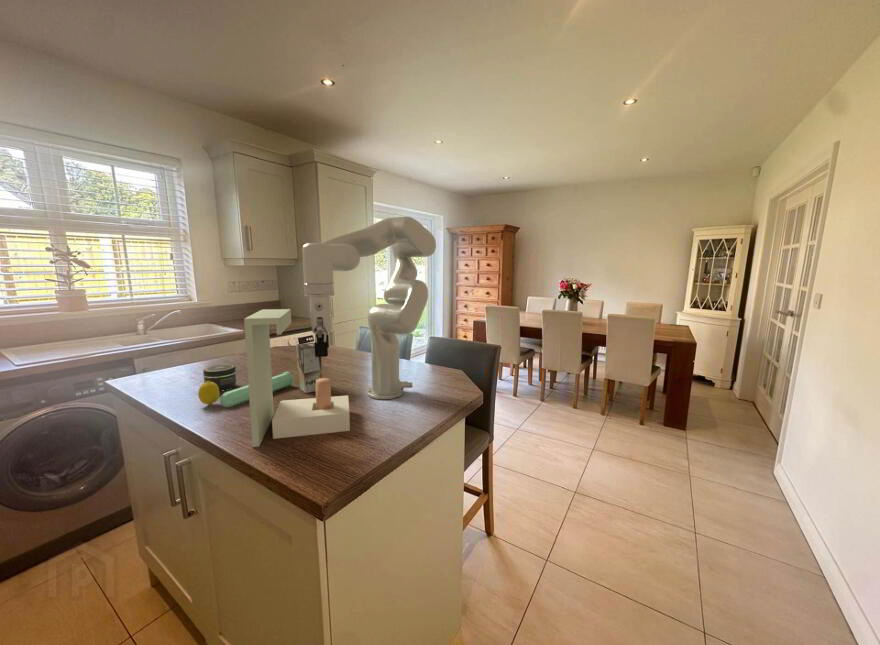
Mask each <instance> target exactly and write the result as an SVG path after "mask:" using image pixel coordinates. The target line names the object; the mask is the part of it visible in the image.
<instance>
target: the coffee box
mask: <svg viewBox="0 0 880 645" xmlns="http://www.w3.org/2000/svg"><path fill="white" fill-rule="evenodd" d="M296 360H297V361H296V365H297V381H298V382H297V384H298V388H299V389H300V390H301V391H303V393H305V394H308V393H312V392H313V393H315V392H316V380H317V379H320V378H323V375H322V374H323V373H322V357H315V346H314V342H306V343H299V344H296Z"/></svg>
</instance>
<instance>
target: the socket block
mask: <svg viewBox="0 0 880 645" xmlns="http://www.w3.org/2000/svg"><path fill="white" fill-rule="evenodd" d="M349 402H350V401H349V395H348V394H347V395H339V396H338V395H337V396H336V395H335V396H331V409H324V410H316V397H313V398H301V399H300V398H299V399H287V400H280V402H279V404H278V406H277V407H276V411H275V413H274V415H273V418H272V420H271V425H272V426H271V427H272V440H273V439H274V440H275V439H283V438H293V437H294V438H295V437H304V436H312V435H321V434H322V435H323V434H333V433H339V432H340V433H343V432H349V431H351V424H350V421H351V420H350V417H351V416H350V403H349Z"/></svg>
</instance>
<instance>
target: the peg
mask: <svg viewBox="0 0 880 645" xmlns="http://www.w3.org/2000/svg"><path fill="white" fill-rule="evenodd" d="M331 380H332V379H331V378H330V377H329V378H327V377H322V378H320V379H317V380H316V391H315V398H316V410H324V409H331V397H332V389H331V388H332V382H331Z"/></svg>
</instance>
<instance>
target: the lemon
mask: <svg viewBox="0 0 880 645" xmlns="http://www.w3.org/2000/svg"><path fill="white" fill-rule="evenodd" d="M220 392H221V391H220ZM220 392H219V388H218V386H217V384H215V383H214V382H210V381H207V382H206V383H204V382H203V383H202V384H201V385H200V387H199V389H198V393H197V394H198V399H199V400H200V402H201V403H203V404H205V405H207V406H209V405H210V406H212V405H213V404H215V403H216V402H217V401H218V400H219V399H220V398H219V397H220Z"/></svg>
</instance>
